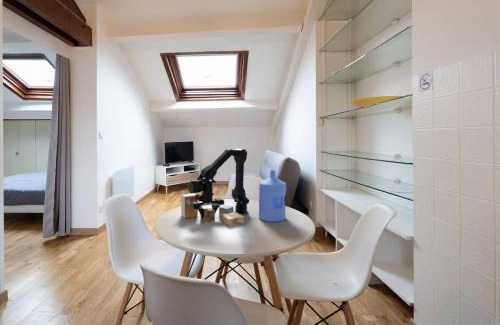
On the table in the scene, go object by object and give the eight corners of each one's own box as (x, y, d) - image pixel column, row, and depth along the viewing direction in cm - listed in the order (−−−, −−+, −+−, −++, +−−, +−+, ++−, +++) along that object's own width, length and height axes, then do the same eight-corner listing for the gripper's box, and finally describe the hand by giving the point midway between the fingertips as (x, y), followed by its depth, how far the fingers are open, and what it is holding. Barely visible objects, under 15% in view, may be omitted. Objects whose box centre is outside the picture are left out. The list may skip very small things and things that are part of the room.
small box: (184, 219, 146) (184, 196, 144) (181, 216, 151) (180, 194, 150) (198, 216, 150) (197, 195, 149) (194, 214, 155) (193, 193, 154)
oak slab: (235, 218, 148) (235, 211, 148) (244, 223, 140) (244, 216, 140) (219, 221, 143) (219, 214, 143) (228, 226, 135) (228, 219, 134)
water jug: (254, 219, 146) (254, 171, 143) (265, 212, 159) (266, 168, 157) (279, 224, 138) (280, 173, 136) (289, 216, 152) (290, 170, 149)
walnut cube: (210, 217, 148) (210, 207, 148) (214, 220, 143) (214, 210, 143) (200, 219, 145) (200, 209, 144) (205, 222, 140) (204, 211, 139)
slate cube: (226, 214, 155) (226, 204, 154) (233, 216, 151) (233, 206, 151) (219, 216, 150) (219, 206, 150) (226, 219, 147) (226, 208, 146)
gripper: (215, 187, 154) (215, 212, 156) (186, 190, 144) (186, 217, 145) (224, 190, 145) (224, 217, 147) (193, 194, 135) (194, 222, 136)
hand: (207, 218), depth 144 cm, fingers closed on walnut cube, 6 cm apart
